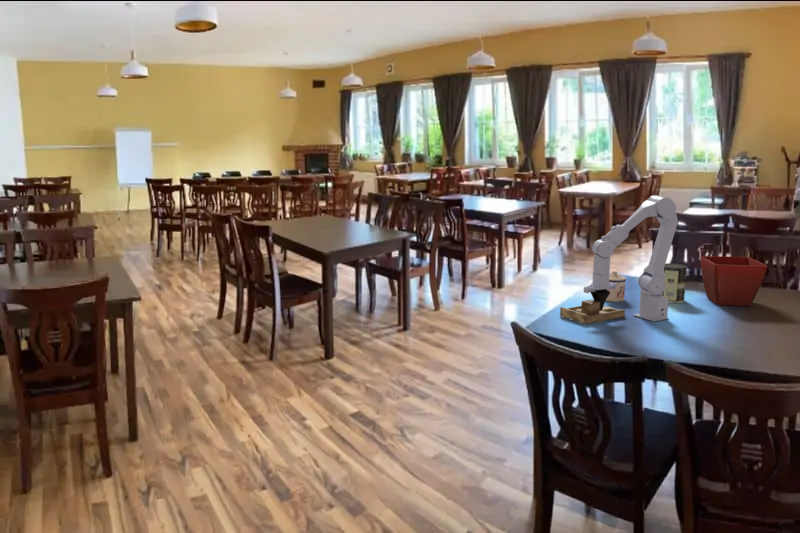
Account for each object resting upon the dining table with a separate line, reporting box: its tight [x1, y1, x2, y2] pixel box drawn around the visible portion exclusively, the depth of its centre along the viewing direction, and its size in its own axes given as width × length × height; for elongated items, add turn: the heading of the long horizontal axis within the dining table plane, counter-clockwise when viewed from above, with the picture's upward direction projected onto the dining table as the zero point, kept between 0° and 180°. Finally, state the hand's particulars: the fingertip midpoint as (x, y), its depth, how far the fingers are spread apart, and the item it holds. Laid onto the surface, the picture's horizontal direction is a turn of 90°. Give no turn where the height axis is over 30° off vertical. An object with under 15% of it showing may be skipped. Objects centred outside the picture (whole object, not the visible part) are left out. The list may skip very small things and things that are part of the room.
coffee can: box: [662, 262, 688, 304], centre depth 279 cm, size 10×10×14 cm
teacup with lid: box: [605, 270, 627, 303], centre depth 281 cm, size 12×9×12 cm
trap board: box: [559, 305, 626, 325], centre depth 255 cm, size 12×20×4 cm, turn 121°
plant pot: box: [699, 255, 768, 307], centre depth 275 cm, size 19×19×17 cm
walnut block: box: [580, 299, 600, 316], centre depth 252 cm, size 4×4×4 cm
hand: (599, 310), depth 253 cm, fingers closed
